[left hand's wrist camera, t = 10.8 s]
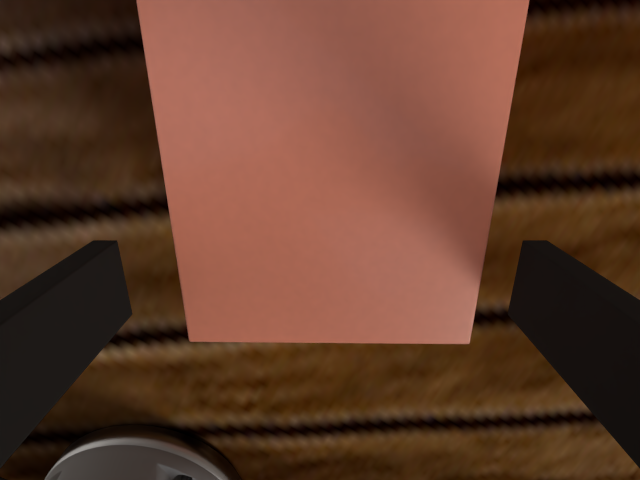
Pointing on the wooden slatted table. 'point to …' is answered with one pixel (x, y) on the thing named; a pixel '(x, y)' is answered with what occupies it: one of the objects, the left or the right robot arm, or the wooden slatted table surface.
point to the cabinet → (331, 161)
